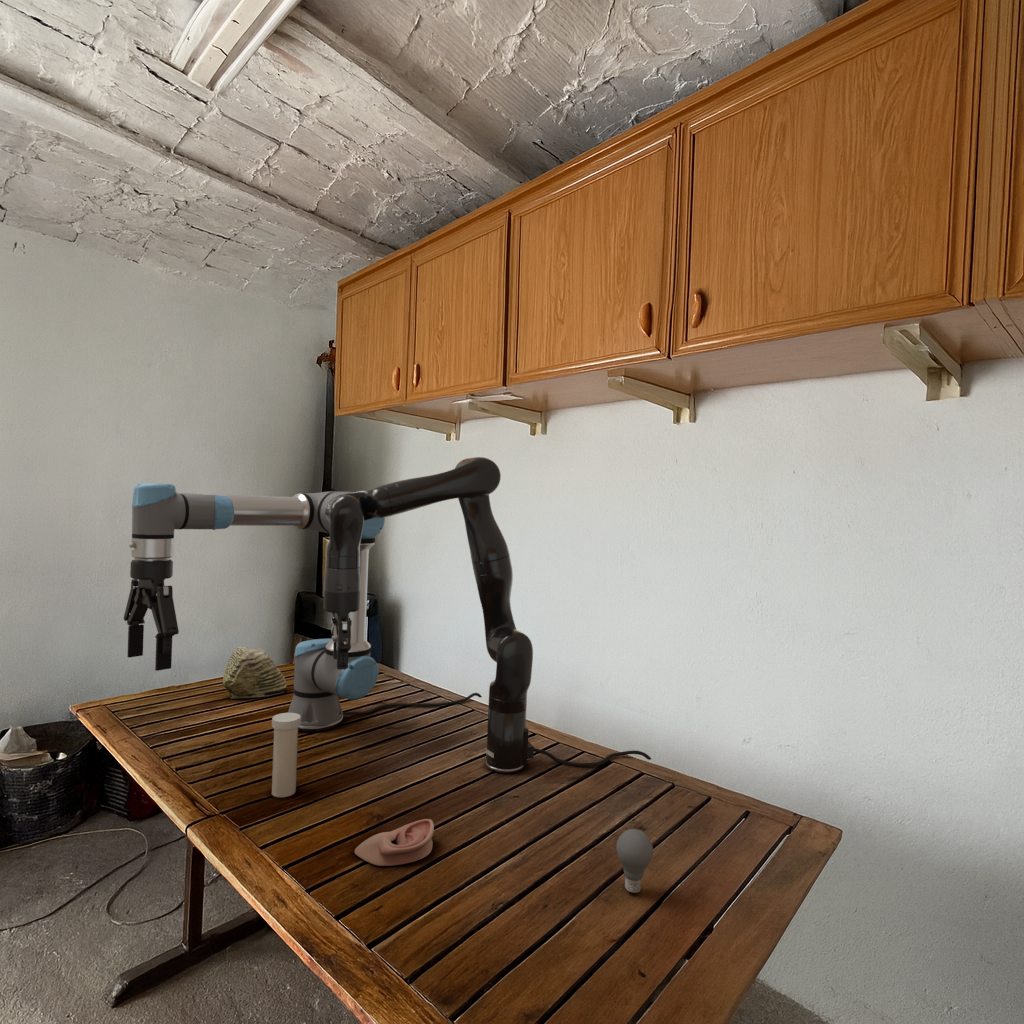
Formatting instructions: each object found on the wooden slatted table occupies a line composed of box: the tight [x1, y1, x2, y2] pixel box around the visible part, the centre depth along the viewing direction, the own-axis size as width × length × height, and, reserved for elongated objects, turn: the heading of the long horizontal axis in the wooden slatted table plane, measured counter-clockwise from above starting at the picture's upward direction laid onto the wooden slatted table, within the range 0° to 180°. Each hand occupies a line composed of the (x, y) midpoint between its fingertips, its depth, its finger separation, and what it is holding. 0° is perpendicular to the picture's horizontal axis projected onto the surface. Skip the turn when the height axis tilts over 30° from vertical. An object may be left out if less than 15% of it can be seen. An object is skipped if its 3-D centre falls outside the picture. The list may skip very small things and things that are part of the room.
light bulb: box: [615, 828, 654, 894], centre depth 106 cm, size 6×6×10 cm
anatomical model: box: [354, 818, 435, 867], centre depth 115 cm, size 13×4×12 cm
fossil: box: [222, 646, 288, 699], centre depth 198 cm, size 9×18×15 cm, turn 132°
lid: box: [271, 712, 301, 730], centre depth 135 cm, size 6×6×2 cm
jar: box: [271, 727, 299, 798], centre depth 135 cm, size 5×5×16 cm
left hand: (148, 662), depth 129 cm, fingers open, 13 cm apart
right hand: (340, 663), depth 136 cm, fingers open, 8 cm apart
